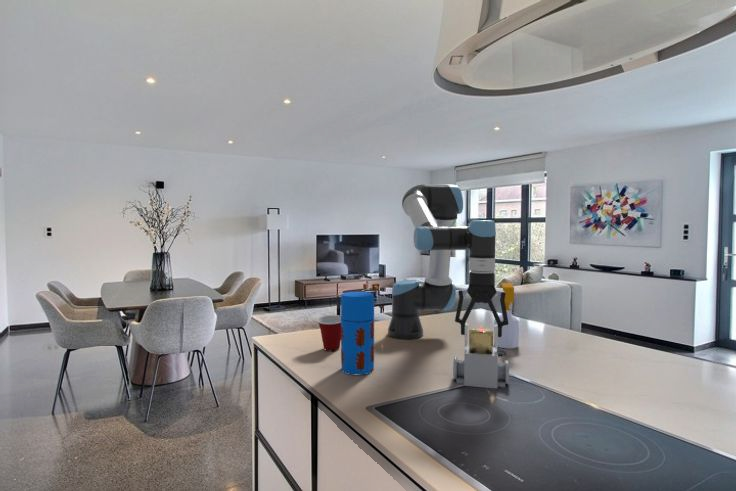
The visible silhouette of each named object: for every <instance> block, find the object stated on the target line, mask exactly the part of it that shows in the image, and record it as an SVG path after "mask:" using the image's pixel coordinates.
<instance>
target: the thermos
mask: <svg viewBox="0 0 736 491" xmlns="http://www.w3.org/2000/svg"><path fill="white" fill-rule="evenodd" d="M340 316H341V341H340V351H341V352H340V357H341V359H340V360H341V371H342V370H343V371H344V372H346V373H349V374H366V373H369V374H371V373H373V372H372V371H374V370H375V368H374V367H375V296H374V293H373V292H367V291H348V292H347V291H345V292H342V293H341V296H340ZM344 372H343V373H344ZM370 372H371V373H370ZM346 373H345V374H346ZM349 374H348V375H349ZM366 375H367V374H366Z"/></svg>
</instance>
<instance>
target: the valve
mask: <svg viewBox="0 0 736 491" xmlns="http://www.w3.org/2000/svg"><path fill="white" fill-rule="evenodd" d="M468 345H469V351H471V352H473V353H477V354H490V353H492V352H493V347H494V330H492V329H489V328H484V326H479V327H474V328H470V329H469V330H468Z"/></svg>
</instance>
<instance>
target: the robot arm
mask: <svg viewBox="0 0 736 491" xmlns="http://www.w3.org/2000/svg"><path fill="white" fill-rule="evenodd" d="M401 206H402V209H403V211H404V213H405V214H406V215H407V216H409V218H410V220H411V223H412V225H413V227H414V231H413V244H414V248H415V249H416V250H418V251H429V263H428V275H427V276H426V277H424V282H420V280H419V279H405V280H400V281H399V280H398V281H397V282H394V283H393V284H392V287H391V288H392V289H391V319H390V322H389V325H388V329H387V335H388V336H389V337H391V338H395V339H400V340H401V339H402V340H413V339H419V338H421V337H423V336H424V329H423V325H422V321H421V319H420V311H447V310H451V309H452V308H453V307H454V305H455V302H456V299H457V292H456V291H457V288H456V285H455V284H454V283H453V280H452V279H451V277H450V265H451V252H452V251H468V252H469V253H468V255H469V257H468V269H469V271H470V272H469V273H468V287H467V289H458V304H457V309H456V312H455V317H454V322H455V323H458V324H460V334H461V336H464V347H467V345H468V331H469V330H468V323H466V322H467V320H468V318H469V316H470V314H471V312H472V310H473V308H474V306H475V304H480V303H483V304H488V307H489V309H490V310H491V311H490V312H491V313H492V315H493V317H494V321H495V320H496V322H497V324H498V325H495V344H494V347H495V349H497V350H498V348H499V347H498V337H501V336H502V326H504V325H508V317H507V312H506V306H505V295H506V294H505V292H504V291H503V290H497V288H496V281H495V280H496V274H495V271H496V237H497V236H496V235H497V231H496V230H497V229H496V222H495V221H494V220H492V219H490V220H489V219H488V220H485V219H484V220H482V219H481V220H478V219H475V220H474V219H473V220H471V221H470V222H469V225H466V226H454V222H455V221H457V219H458V215H460V214H462V213H463V210H464V197H463V194H462V190H461V188H460V187H459V186H458V185H456V184H449V183H447V184H445V183H442V184H440V183H439V184H438V183H437V184H425V183H424V184H418V185H414V186H413V187H411V188H409V190H406V192H405V193H404V195H403V197H402V200H401ZM467 294H468V295H469V297H470V298H471V299H470V301H469V304H468V305H467V308H466V310H465V312H464V314H463V316H462V318H461V317H460V316H461V313H462V312H461V311H462V308H463V302H464V298H465V297H466V295H467ZM495 295H497V298H498V299H499V301H500V302H499V303H500V308H501V314H503V321H501V320H500V318H499V314H498V312H497V309H496V307H495V305H494V303H493V300H492V299H493V298H494V297H495Z"/></svg>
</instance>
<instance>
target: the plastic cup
mask: <svg viewBox="0 0 736 491" xmlns="http://www.w3.org/2000/svg"><path fill="white" fill-rule="evenodd" d="M316 322H317V323H318V325H319V328H320V334H321V341H322V345H323V349H326V350H336V351H338V350H337V349H339V350H340V348H341V315H338V314H337V315H336V314H332V315H331V314H330V315H323V316H321V317H318V318H317V319H316ZM326 350H325V351H326Z"/></svg>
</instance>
